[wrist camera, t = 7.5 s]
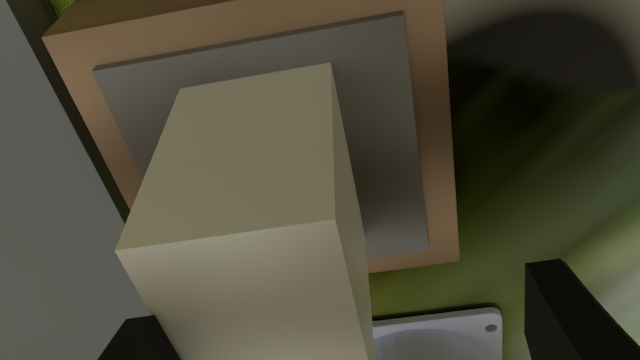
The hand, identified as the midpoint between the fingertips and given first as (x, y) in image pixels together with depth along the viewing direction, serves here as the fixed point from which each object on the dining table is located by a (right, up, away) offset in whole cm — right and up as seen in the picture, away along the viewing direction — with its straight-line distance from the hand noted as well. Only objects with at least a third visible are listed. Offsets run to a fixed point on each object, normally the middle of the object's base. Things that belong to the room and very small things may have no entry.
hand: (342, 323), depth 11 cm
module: (-2, +3, +5) cm, 6 cm away
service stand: (-2, +5, +8) cm, 10 cm away
